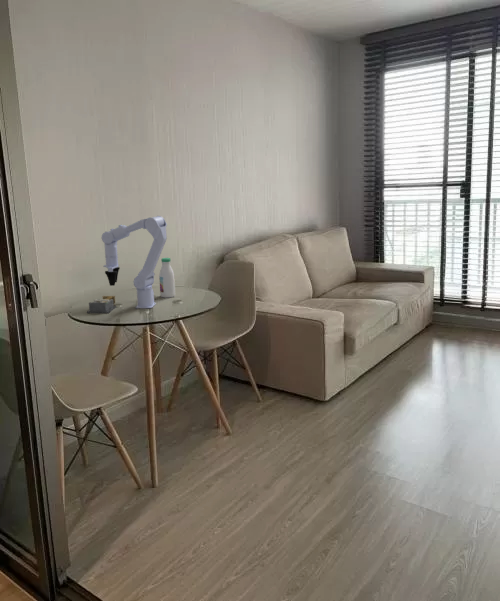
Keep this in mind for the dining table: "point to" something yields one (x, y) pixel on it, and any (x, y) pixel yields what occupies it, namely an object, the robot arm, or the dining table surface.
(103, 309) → the gauge frame
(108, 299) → the wooden t-shaped block
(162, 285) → the milk bottle
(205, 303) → the dining table surface
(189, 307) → the dining table surface
